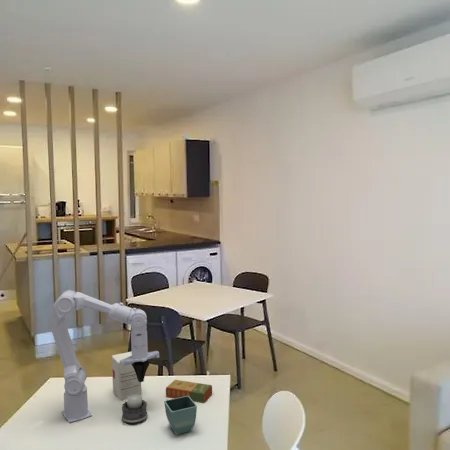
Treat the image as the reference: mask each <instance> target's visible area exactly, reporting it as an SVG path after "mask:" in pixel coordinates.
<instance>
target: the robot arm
mask: <svg viewBox="0 0 450 450" xmlns="http://www.w3.org/2000/svg"><path fill="white" fill-rule="evenodd" d="M85 308H86V309H90V310H94V311H97V312H101V313H104V314H107V315H108V316H109V318H110V319H111V320H114V321H117V322H120V323H123V324H127V325H129V326H130V328H131V331H130V342H131V343H130V345H131V347H130V348H131V349H130V350H131V351H132V356H130V357H127V358H125V359H122V360H120V366H121V367H124V366H125V365H129V364H131V365H132V366H133V368H134V370H135V372H136V375H137V379H138V381H139V382H141V383H143V382H144V381H145V376H146V373H147V370H148V368H149V367H150V361H149V360H151V359H156V358H157V359H158V358H160V352H159V351H158V350H154V351H148V349H149V348H148V347H149V346H148V330H147V328H148V327H147V324H148V319H147V317H148V316H147V314H146V312H145V311H144V310H142V309H141V308H136V307H133V308H132V307H129V306H126V305H125V304H124V303H123V302H121V301H120V302H119V303H118V302H114V303H113V304H111V303H107V302H106V301H102V300H100V299H98V298H95V297H93V296H90V295H87V294H85V293H83V292H81V291H75V290H72V289H67V290H64V291H63V292H62V293H61V295H60V296H59V297H58V298H57V299H56V301H54V303H53V304H52V308H51V312H50V315H49V318H48V324H49V327H50V330H51V333H52V336H53V338H54V339H53V340H54V342H55V345H56V349H57V352H58V355H59V357H60V360H61V363H62V367H63V378H64V387H63V388H64V392H63V409H64V410H62V411H61V414H62V415H63V417H64V418H65V419H66V420H67V421H68V423H74V422H77V421H80V420H83V419H86V418H89V417H92V416H93V414H92V412H91V411H90V410H89V409H88V408H89V407H88V406H89V405H88V401H89V400H88V387H87V386H86V384H85V383H86V380H87V378H88V374H87V372H86V370H85V369H84V368H83V367H82V364H81V362H80V361H79V360H78V357H77V354H76V352H75V348H74V345H73V342H72V339H71V336H70V333H69V329H68V325H67V323H66V318H67V317H68V315H69V314H70V313H71V312H73V311H74V309H75V310H76V311H79V310H82V309H85Z"/></svg>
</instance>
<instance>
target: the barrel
mask: <svg viewBox="0 0 450 450" xmlns="http://www.w3.org/2000/svg"><path fill="white" fill-rule="evenodd" d="M147 404H148V402H147V401H145V400H144V399H142V407H141V408H137V409H127V400H126V401H125V402H124V403H122V405H121V411H122V416H121V417H122V418H121V420H122V422H123V424H125V425H130V426H137V425H140V424H142V423H144V422H145V421H147V420H148V410H147V409H148V408H147V407H148V406H147Z"/></svg>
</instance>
